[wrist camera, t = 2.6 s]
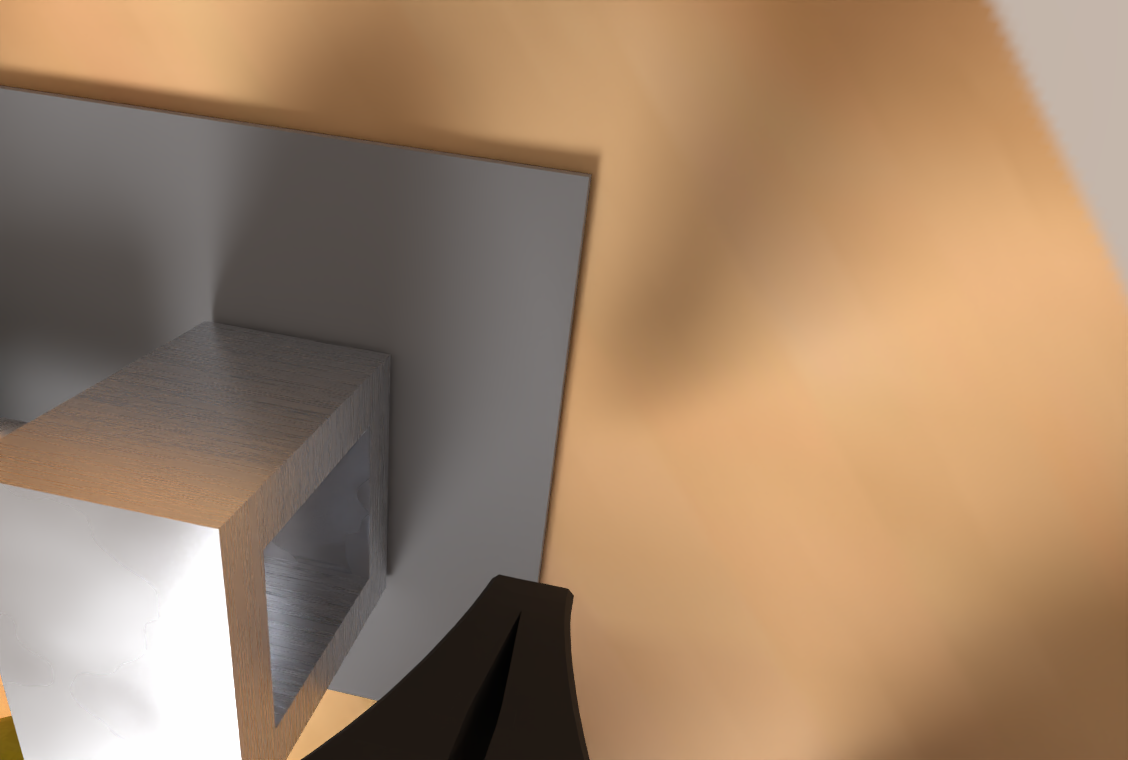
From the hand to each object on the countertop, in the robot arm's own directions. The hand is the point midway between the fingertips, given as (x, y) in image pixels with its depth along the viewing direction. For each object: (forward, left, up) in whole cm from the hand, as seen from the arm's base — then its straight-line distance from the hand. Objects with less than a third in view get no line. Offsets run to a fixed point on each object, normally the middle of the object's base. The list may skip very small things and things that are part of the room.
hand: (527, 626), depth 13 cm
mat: (+9, 0, -4) cm, 10 cm away
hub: (+6, 0, -4) cm, 7 cm away
